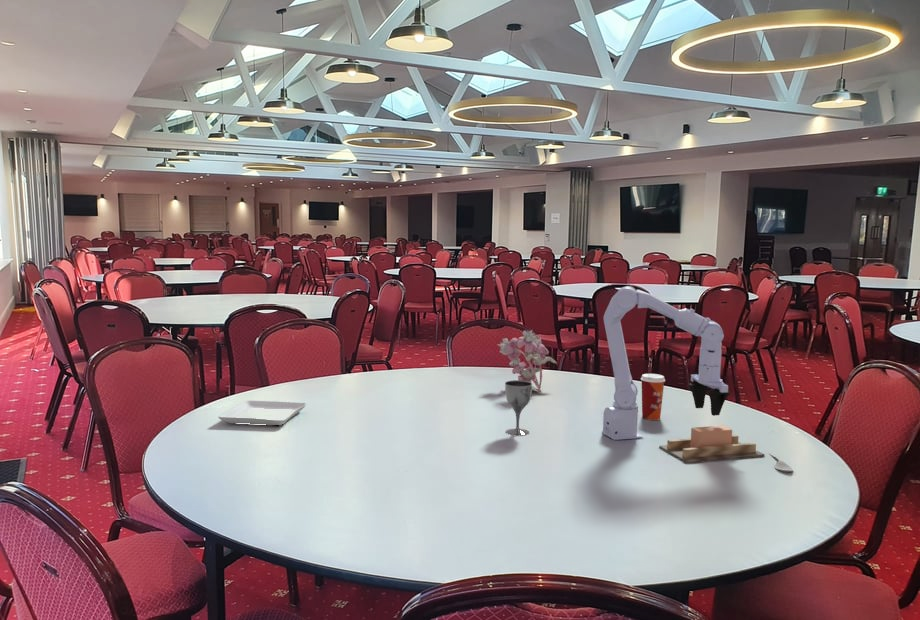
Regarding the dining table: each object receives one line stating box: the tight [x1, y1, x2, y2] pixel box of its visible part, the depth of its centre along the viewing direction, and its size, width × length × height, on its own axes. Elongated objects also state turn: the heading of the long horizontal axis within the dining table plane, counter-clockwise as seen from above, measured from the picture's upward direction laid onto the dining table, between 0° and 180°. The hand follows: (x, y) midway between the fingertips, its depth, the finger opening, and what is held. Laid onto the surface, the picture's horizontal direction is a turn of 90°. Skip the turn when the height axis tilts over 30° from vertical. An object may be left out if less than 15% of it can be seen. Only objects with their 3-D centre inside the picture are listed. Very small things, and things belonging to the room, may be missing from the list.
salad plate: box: [218, 400, 307, 426], centre depth 207 cm, size 21×21×3 cm
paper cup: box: [640, 373, 666, 421], centre depth 211 cm, size 8×8×14 cm
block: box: [690, 425, 733, 448], centre depth 178 cm, size 10×4×6 cm, turn 104°
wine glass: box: [504, 380, 533, 437], centre depth 194 cm, size 8×8×15 cm
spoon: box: [768, 451, 794, 473], centre depth 172 cm, size 4×21×2 cm, turn 166°
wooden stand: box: [659, 434, 766, 464], centre depth 179 cm, size 24×13×3 cm, turn 105°
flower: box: [497, 329, 558, 394], centre depth 250 cm, size 20×22×25 cm
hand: (707, 411), depth 185 cm, fingers open, 7 cm apart
